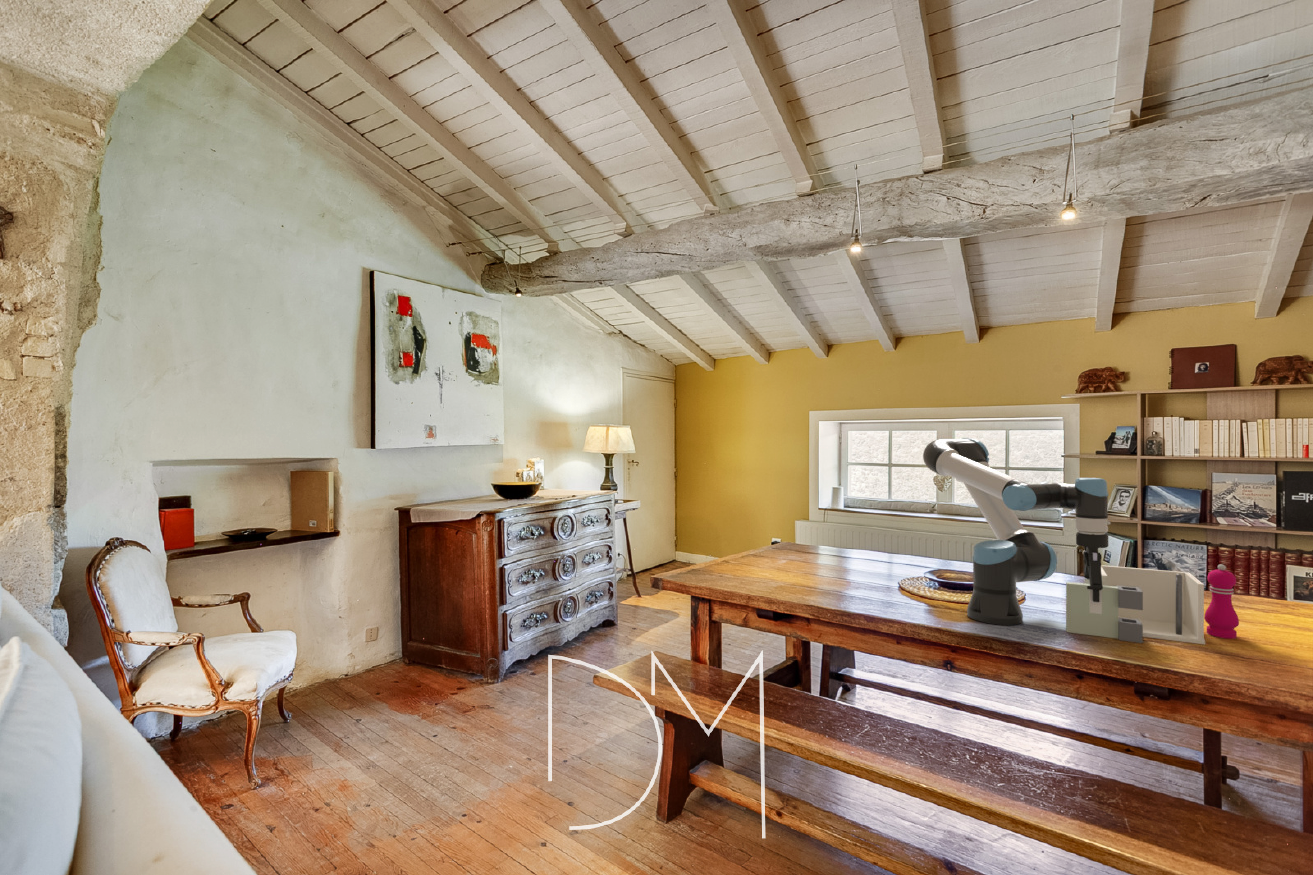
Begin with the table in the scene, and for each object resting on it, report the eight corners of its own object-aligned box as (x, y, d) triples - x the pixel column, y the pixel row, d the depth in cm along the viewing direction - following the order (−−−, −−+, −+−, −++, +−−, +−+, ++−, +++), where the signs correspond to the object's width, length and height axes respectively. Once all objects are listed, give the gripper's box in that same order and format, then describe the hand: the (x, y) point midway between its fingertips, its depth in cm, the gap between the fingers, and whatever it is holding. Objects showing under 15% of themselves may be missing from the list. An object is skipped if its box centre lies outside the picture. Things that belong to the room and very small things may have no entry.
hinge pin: (1176, 634, 173) (1176, 574, 172) (1175, 632, 174) (1175, 573, 174) (1182, 635, 172) (1182, 574, 172) (1181, 633, 173) (1181, 573, 173)
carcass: (1101, 631, 179) (1101, 575, 179) (1094, 616, 193) (1094, 564, 193) (1205, 644, 168) (1205, 584, 168) (1190, 627, 182) (1190, 572, 182)
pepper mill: (1245, 640, 171) (1246, 567, 171) (1215, 638, 173) (1215, 566, 172) (1227, 631, 178) (1227, 562, 178) (1198, 630, 180) (1198, 561, 179)
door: (1067, 633, 178) (1067, 584, 178) (1065, 628, 182) (1065, 580, 182) (1142, 643, 169) (1142, 591, 169) (1139, 637, 174) (1139, 587, 174)
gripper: (1114, 539, 164) (1115, 620, 164) (1102, 527, 186) (1103, 598, 186) (1080, 537, 168) (1081, 616, 168) (1072, 526, 189) (1073, 595, 189)
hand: (1092, 607), depth 177 cm, fingers open, 13 cm apart
